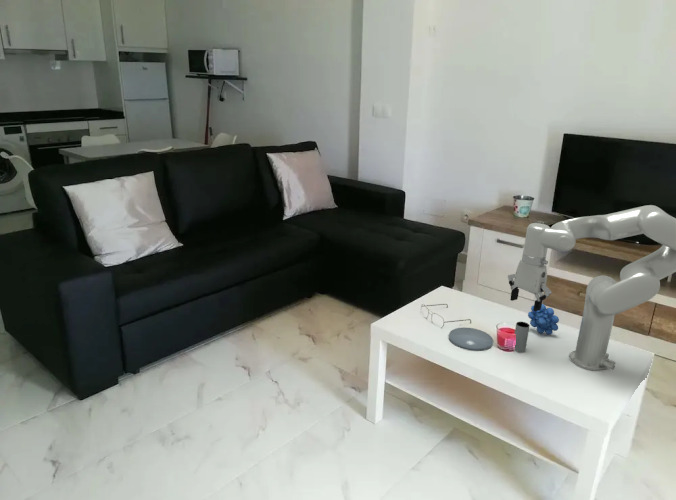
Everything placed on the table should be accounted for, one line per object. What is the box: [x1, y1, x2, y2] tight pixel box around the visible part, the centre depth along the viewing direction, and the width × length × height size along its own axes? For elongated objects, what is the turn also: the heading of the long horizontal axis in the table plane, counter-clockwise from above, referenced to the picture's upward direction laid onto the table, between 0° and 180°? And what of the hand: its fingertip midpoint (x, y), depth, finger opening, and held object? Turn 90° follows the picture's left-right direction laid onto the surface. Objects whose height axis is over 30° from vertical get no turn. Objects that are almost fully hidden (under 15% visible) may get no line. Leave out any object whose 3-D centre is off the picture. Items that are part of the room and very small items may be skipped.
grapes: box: [527, 303, 560, 336], centre depth 200 cm, size 12×7×12 cm, turn 58°
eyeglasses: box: [420, 303, 472, 329], centre depth 212 cm, size 16×15×5 cm
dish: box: [448, 326, 494, 352], centre depth 195 cm, size 16×16×1 cm
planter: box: [514, 321, 531, 354], centre depth 188 cm, size 4×4×10 cm
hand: (525, 305), depth 184 cm, fingers open, 9 cm apart
